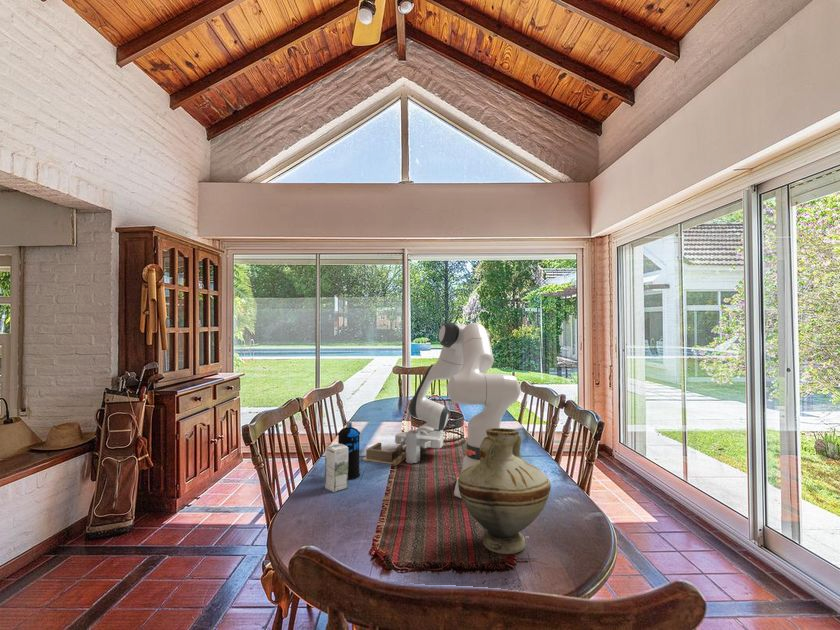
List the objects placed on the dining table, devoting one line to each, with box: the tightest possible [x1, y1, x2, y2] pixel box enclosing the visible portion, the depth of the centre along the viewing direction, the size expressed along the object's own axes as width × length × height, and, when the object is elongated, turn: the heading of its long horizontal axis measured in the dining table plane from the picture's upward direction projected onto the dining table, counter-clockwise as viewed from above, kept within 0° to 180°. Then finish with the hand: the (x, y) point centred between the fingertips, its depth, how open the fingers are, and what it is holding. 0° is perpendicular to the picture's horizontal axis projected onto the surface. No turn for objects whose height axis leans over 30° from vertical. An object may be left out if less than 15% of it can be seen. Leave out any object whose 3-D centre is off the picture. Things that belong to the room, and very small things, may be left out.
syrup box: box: [324, 443, 349, 493], centre depth 155 cm, size 6×6×14 cm
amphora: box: [457, 427, 552, 555], centre depth 118 cm, size 24×24×30 cm
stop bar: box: [405, 429, 421, 464], centre depth 184 cm, size 4×4×12 cm
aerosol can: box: [337, 420, 361, 481], centre depth 167 cm, size 8×8×20 cm
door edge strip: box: [392, 451, 406, 467], centre depth 186 cm, size 16×1×2 cm, turn 159°
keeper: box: [361, 442, 405, 465], centre depth 190 cm, size 14×14×4 cm
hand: (412, 444), depth 183 cm, fingers open, 8 cm apart
